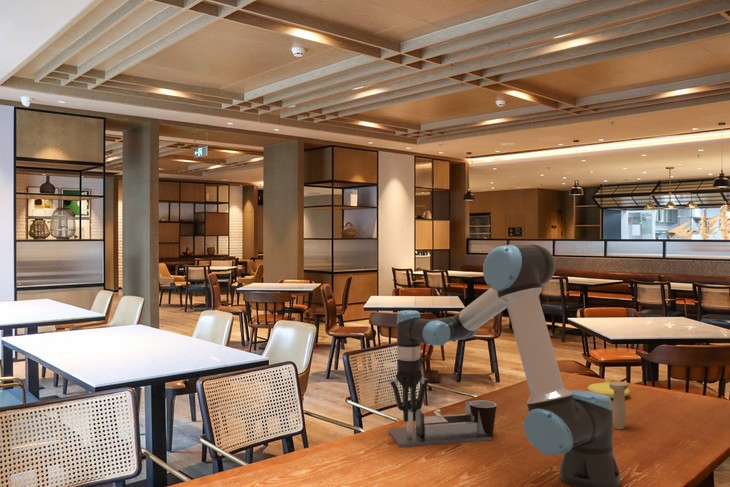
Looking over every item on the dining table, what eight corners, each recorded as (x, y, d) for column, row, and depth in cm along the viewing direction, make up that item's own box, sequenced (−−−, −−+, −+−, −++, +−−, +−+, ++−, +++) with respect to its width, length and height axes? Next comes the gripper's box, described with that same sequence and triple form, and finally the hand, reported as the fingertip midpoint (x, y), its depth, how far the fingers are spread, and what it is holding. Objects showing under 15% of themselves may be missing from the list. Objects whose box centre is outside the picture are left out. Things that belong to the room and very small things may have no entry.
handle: (606, 428, 208) (606, 383, 208) (619, 425, 211) (619, 381, 211) (618, 431, 203) (618, 386, 203) (632, 428, 206) (631, 383, 206)
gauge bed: (491, 440, 197) (490, 411, 197) (399, 447, 192) (399, 418, 192) (473, 425, 213) (473, 399, 213) (388, 431, 208) (388, 404, 207)
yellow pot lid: (632, 394, 251) (632, 377, 251) (626, 403, 238) (625, 385, 238) (592, 389, 259) (592, 373, 259) (583, 398, 246) (583, 380, 246)
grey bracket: (448, 434, 200) (448, 412, 200) (420, 436, 198) (420, 414, 198) (438, 424, 211) (437, 403, 211) (412, 425, 209) (411, 405, 209)
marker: (440, 424, 209) (440, 410, 209) (438, 425, 209) (437, 410, 209) (439, 423, 210) (439, 409, 210) (436, 423, 210) (436, 409, 210)
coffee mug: (495, 439, 197) (495, 408, 197) (468, 437, 199) (468, 406, 199) (498, 428, 208) (498, 399, 208) (472, 426, 211) (472, 397, 210)
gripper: (424, 355, 205) (425, 426, 205) (386, 357, 203) (387, 429, 203) (431, 359, 198) (432, 433, 198) (391, 361, 195) (392, 436, 195)
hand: (409, 431), depth 200 cm, fingers closed
